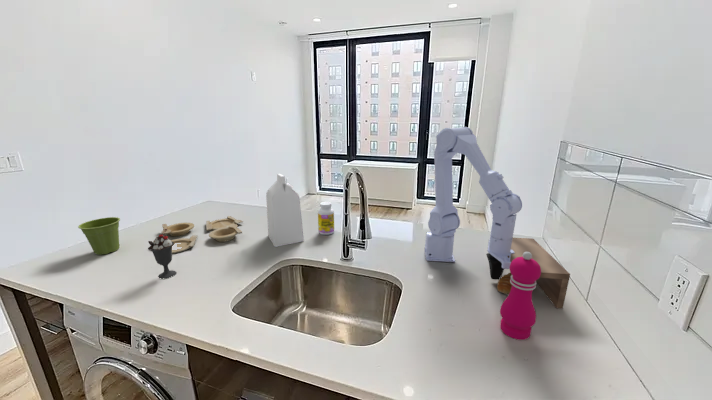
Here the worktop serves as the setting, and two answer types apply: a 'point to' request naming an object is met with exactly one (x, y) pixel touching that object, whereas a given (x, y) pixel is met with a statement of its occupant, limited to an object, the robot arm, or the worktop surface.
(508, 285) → the pastry
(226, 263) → the worktop surface
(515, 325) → the pepper mill
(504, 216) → the robot arm
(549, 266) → the walnut shelf
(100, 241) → the plant pot
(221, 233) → the tableware set
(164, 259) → the sundae
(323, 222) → the supplement bottle
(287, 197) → the milk
